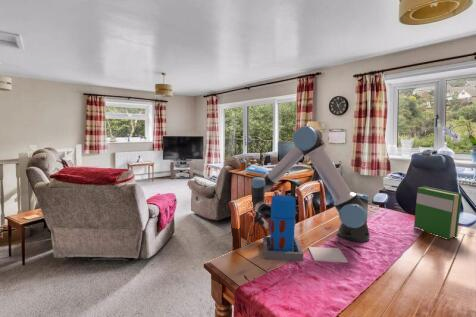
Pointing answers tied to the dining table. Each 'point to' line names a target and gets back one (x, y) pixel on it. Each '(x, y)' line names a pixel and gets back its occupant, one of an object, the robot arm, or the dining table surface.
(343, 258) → the mat
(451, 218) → the hardback book
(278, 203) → the thermos
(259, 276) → the dining table surface
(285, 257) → the collar
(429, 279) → the dining table surface
